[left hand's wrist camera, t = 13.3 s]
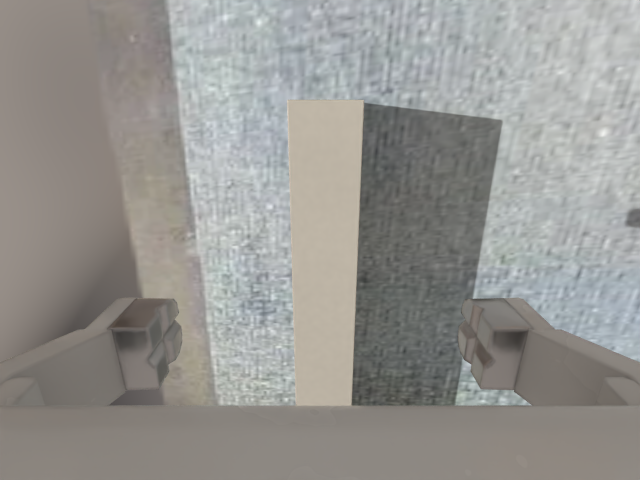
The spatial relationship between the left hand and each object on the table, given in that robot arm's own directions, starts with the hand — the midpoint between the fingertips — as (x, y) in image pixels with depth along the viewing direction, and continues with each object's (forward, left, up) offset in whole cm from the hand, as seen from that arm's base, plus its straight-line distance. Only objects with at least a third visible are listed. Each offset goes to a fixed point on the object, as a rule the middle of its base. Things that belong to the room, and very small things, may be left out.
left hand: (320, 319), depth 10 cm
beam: (+20, +9, -23) cm, 32 cm away
